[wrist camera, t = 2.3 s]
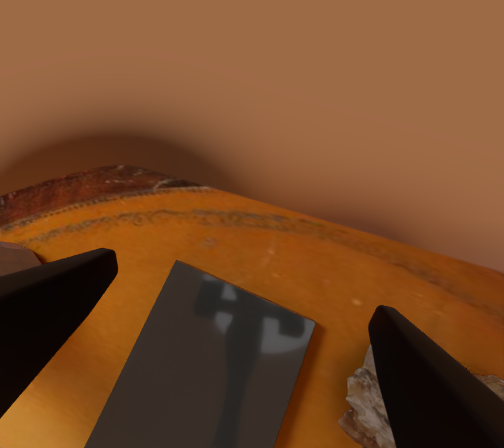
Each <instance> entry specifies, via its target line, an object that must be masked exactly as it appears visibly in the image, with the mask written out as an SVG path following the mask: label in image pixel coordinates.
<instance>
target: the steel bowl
mask: <svg viewBox="0 0 504 448" xmlns="http://www.w3.org/2000/svg"><path fill="white" fill-rule="evenodd" d="M39 265H42V264H41V262H40V261H39V260H38V258H37V257H36V256H35V254H34V253H33V252H32V251H31V250H29V249H27V248H25V247H23V246H21V245H19V244H15V243H8V242H0V276H3V275H7V274H10V273H14V272H18V271H21V270H25V269H28V268H32V267H35V266H39Z"/></svg>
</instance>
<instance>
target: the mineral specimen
mask: <svg viewBox="0 0 504 448" xmlns="http://www.w3.org/2000/svg"><path fill="white" fill-rule="evenodd" d="M473 375H474V376H475V377H477V378H478V379H479V380H480V381H481V382H482V383H484V384H485V385H486V386H487V387H488V388H490V389H491V390H492V391H493V392H494V393H496V394H497V395H498V396H499V397H500V398H501V399H503V400H504V380H503V379H501V378H499V377H496V376H494V375H490V376H488V377H486V376H482V375H477V374H473ZM347 386H348V396H347V397H346V400H347V402H348V403H349V404H350V405H351V406H352V408H350V409H349V410H347V411H346V412H345V413H344V415H343V416H342V418H341V419H340V420H339V421H338V422H339V424H340V426H341V428H342V429H343V430H344V431H345V432H346V433H347V434H348V435H349V436H350V437H351V438H352V439H353V440H354V441H355V442H357V443H359V444H361V445H362V446H363V448H396V445H395V442H394V438H393V434H392V431H391V427H390V424H389V420H388V417H387V413H386V409H385V406H384V402H383V399H382V395H381V392H380V388H379V384H378V380H377V375H376V370H375V365H374V359H373V353H372V347H371V344H370V346H369V348H368V351H367V354H366V356H365V358H364V364H363V367H361V368H358V369H356V371H355V373H354V374H353V376H350V377H348V378H347Z"/></svg>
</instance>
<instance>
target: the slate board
mask: <svg viewBox="0 0 504 448" xmlns="http://www.w3.org/2000/svg"><path fill="white" fill-rule="evenodd" d="M315 324H316V322H315V321H314V320H312V319H310V318H308V317H306V316H303V315H301V314H299V313H297V312H294V311H292V310H290V309H288V308H285V307H283V306H281V305H279V304H276V303H274V302H272V301H270V300H267V299H265V298H263V297H261V296H258V295H256V294H254V293H252V292H249V291H247V290H245V289H243V288H240V287H238V286H236V285H234V284H231V283H229V282H227V281H225V280H222V279H220V278H218V277H216V276H213V275H211V274H209V273H207V272H204V271H202V270H200V269H198V268H195V267H193V266H191V265H189V264H186V263H184V262H182V261H178V260H176V261H175V263H174V265H173V267H172V269H171V271H170V273H169V275H168V278H167V280H166V282H165V284H164V286H163V288H162V290H161V292H160V294H159V296H158V298H157V300H156V302H155V304H154V306H153V308H152V310H151V312H150V314H149V316H148V318H147V320H146V322H145V324H144V327H143V329H142V331H141V333H140V335H139V337H138V339H137V341H136V343H135V345H134V347H133V349H132V351H131V353H130V355H129V357H128V359H127V361H126V363H125V365H124V367H123V369H122V371H121V374H120V376H119V378H118V380H117V382H116V384H115V386H114V388H113V390H112V392H111V394H110V396H109V398H108V400H107V402H106V404H105V406H104V408H103V410H102V412H101V414H100V416H99V418H98V420H97V423H96V425H95V427H94V429H93V431H92V433H91V435H90V437H89V439H88V441H87V443H86V445H85V447H84V448H274V445H275V442H276V439H277V436H278V433H279V430H280V427H281V424H282V421H283V418H284V415H285V413H286V410H287V407H288V404H289V401H290V398H291V395H292V392H293V389H294V386H295V383H296V380H297V377H298V374H299V371H300V368H301V365H302V362H303V359H304V357H305V354H306V351H307V348H308V345H309V342H310V339H311V336H312V333H313V330H314V327H315Z"/></svg>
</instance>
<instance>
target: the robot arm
mask: <svg viewBox="0 0 504 448" xmlns="http://www.w3.org/2000/svg"><path fill="white" fill-rule="evenodd" d="M117 273H118V265H117V258H116V253H115V251H114V250H111V249H106V248H99V249H96V250H92V251H89V252H85V253H82V254H78V255H75V256H71V257H67V258H64V259H60V260H57V261H53V262H50V263H46V264H42V265H39V266H35V267H32V268H28V269H25V270H21V271H18V272H14V273H10V274H7V275H3V276H0V418H1V417H2V416H3V415H4V413H5V412H6V411H7V410H8V409H9V408H10V406H11V405H12V404H13V403H14V402H15V401H16V399H17V398H18V397H19V396H20V395H21V394H22V392H23V391H24V390H25V389H26V388H27V386H28V385H29V384H30V383H31V382H32V381H33V379H34V378H35V377H36V376H37V375H38V374H39V372H40V371H41V370H42V369H43V368H44V367H45V365H46V364H47V363H48V362H49V361H50V360H51V358H52V357H53V356H54V355H55V354H56V352H57V351H58V350H59V349H60V348H61V347H62V345H63V344H64V343H65V342H66V341H67V340H68V338H69V337H70V336H71V335H72V334H73V333H74V331H75V330H76V329H77V328H78V327H79V326H80V324H81V323H82V322H83V321H84V320H85V318H86V317H87V316H88V315H89V313H90V312H91V311H92V309H93V308H94V307H95V305H96V304H97V302H98V301H99V300H100V298H101V297H102V295H103V294H104V293H105V291H106V290H107V288H108V287H109V285H110V284H111V283H112V281H113V280H114V278H115V277H116V275H117ZM368 330H369V336H370V342H371V347H372V353H373V359H374V365H375V370H376V375H377V380H378V384H379V388H380V392H381V395H382V399H383V402H384V406H385V409H386V413H387V417H388V420H389V424H390V427H391V431H392V434H393V438H394V442H395V445H396V448H504V400H503V399H501V398H500V397H499V396H498V395H497V394H496V393H494V392H493V391H492V390H491V389H490V388H488V387H487V386H486V385H485V384H484V383H482V382H481V381H480V380H479V379H478V378H477V377H475V376H474V375H473V374H472V373H471V372H469V371H468V370H467V369H466V368H465V367H463V366H462V365H461V364H460V363H459V362H457V361H456V360H455V359H454V358H453V357H452V356H450V355H449V354H448V353H447V352H446V351H444V350H443V349H442V348H441V347H440V346H438V345H437V344H436V343H435V342H434V341H433V340H431V339H430V338H429V337H428V336H427V335H425V334H424V333H423V332H422V331H421V330H419V329H418V328H417V327H416V326H415V325H414V324H412V323H411V322H410V321H409V320H408V319H406V318H405V317H404V316H403V315H402V314H400V313H399V312H398V311H397V310H396V309H394V308H393V307H389V306H384V305H379V306H378V307H377V308H376V310H375V312H374V314H373V316H372V318H371V320H370V322H369V326H368Z"/></svg>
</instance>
